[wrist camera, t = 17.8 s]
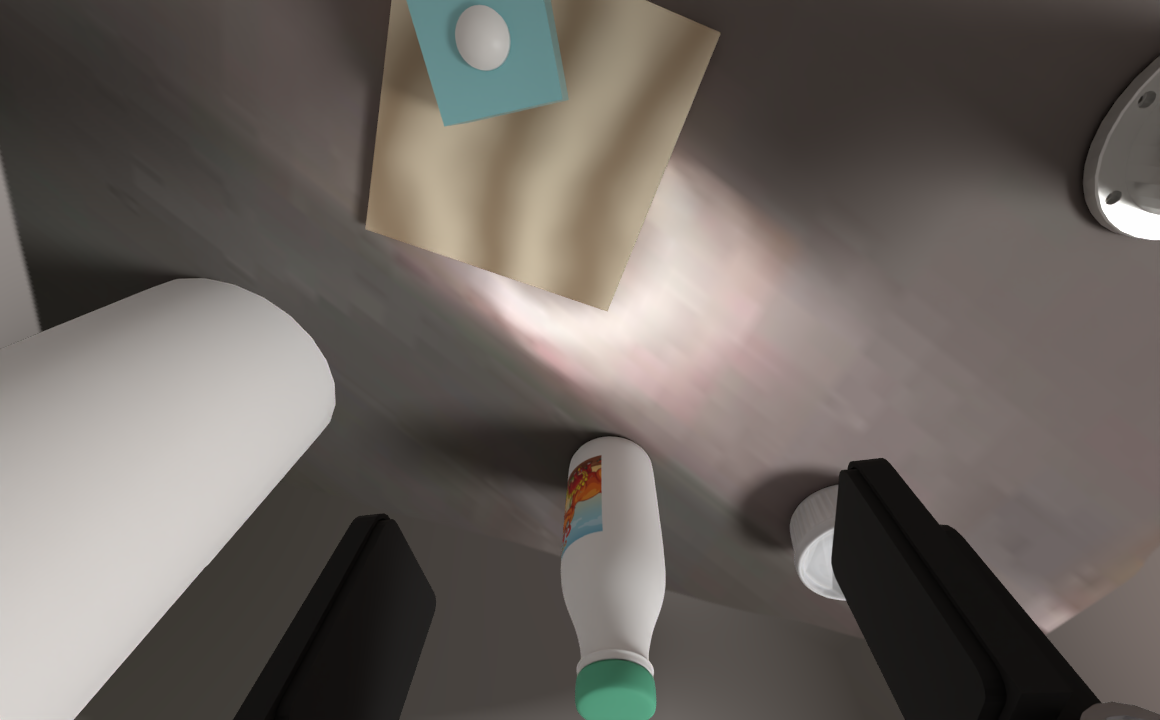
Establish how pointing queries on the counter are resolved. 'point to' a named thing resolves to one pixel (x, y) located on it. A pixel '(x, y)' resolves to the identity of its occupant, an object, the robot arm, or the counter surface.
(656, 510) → the milk bottle
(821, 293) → the counter surface
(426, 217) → the board
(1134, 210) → the robot arm
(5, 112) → the counter surface
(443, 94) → the teal knob cube
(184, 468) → the white stepped round block
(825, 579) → the ramekin
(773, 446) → the counter surface
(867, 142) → the counter surface
